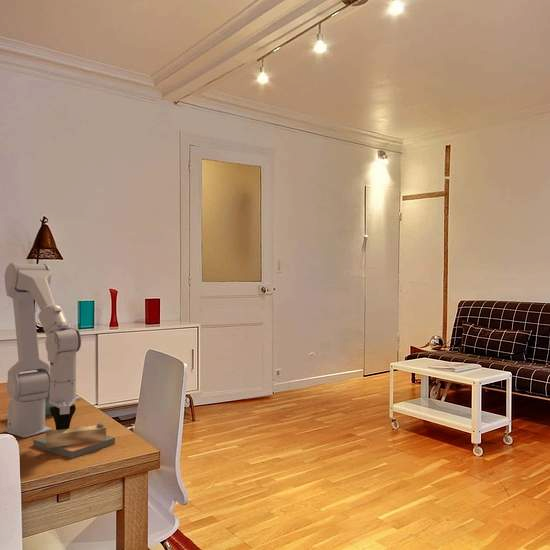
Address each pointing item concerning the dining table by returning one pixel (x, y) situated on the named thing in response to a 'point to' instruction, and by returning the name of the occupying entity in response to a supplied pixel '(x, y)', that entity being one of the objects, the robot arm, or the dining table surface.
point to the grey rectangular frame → (74, 447)
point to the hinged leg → (75, 435)
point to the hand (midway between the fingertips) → (62, 436)
